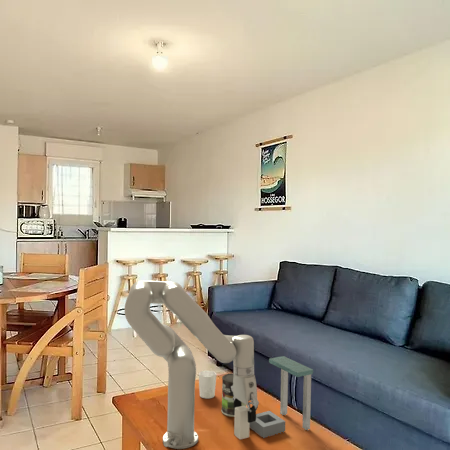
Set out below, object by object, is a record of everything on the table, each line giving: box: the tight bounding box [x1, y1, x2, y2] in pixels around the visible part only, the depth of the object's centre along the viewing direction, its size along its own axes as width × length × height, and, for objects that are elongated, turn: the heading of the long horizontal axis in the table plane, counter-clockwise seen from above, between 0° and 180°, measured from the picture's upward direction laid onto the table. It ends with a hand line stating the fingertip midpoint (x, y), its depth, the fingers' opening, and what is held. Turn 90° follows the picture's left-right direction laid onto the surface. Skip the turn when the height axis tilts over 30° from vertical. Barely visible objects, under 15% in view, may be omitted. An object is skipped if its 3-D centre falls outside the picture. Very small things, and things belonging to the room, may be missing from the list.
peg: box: [233, 406, 250, 440], centre depth 157 cm, size 4×4×10 cm
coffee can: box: [221, 372, 247, 418], centre depth 177 cm, size 10×10×14 cm
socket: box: [249, 410, 286, 439], centre depth 163 cm, size 10×10×4 cm
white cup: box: [198, 369, 217, 399], centre depth 193 cm, size 8×8×10 cm
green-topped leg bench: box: [268, 355, 314, 431], centre depth 168 cm, size 8×18×23 cm, turn 30°
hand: (244, 416), depth 158 cm, fingers open, 9 cm apart
